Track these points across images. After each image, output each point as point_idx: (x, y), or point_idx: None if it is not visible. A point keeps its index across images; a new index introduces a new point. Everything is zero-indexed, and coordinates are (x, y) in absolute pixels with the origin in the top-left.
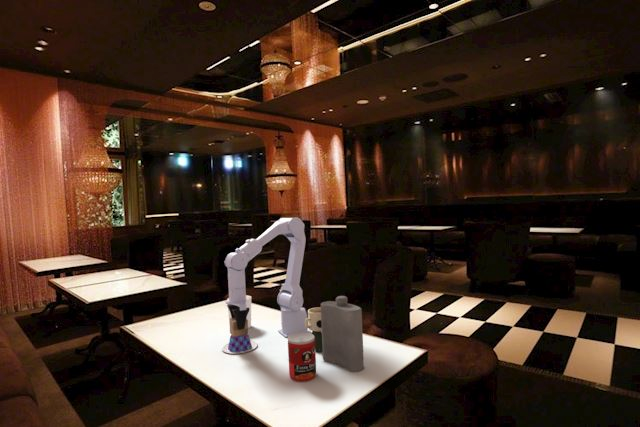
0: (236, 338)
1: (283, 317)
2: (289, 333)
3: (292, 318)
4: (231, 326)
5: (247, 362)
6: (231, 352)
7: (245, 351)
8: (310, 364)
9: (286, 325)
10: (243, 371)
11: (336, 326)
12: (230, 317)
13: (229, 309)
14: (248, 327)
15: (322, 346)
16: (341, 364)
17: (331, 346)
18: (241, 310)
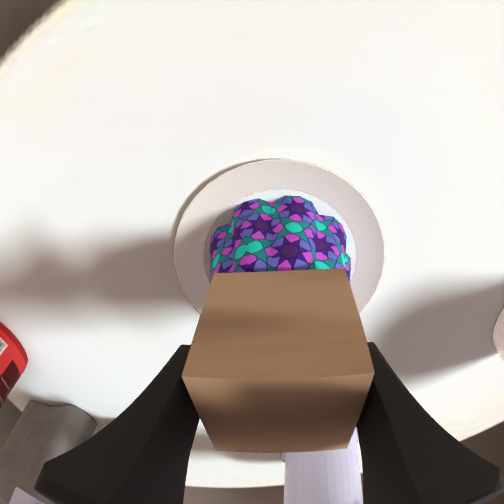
0: None
1: (313, 486)
2: None
3: (284, 492)
4: (280, 321)
5: (74, 252)
6: (226, 205)
7: (204, 276)
8: None
9: (300, 461)
10: (14, 222)
11: (20, 468)
12: None
13: (422, 470)
14: (494, 342)
15: (66, 431)
16: (45, 407)
17: (45, 433)
18: (22, 491)
